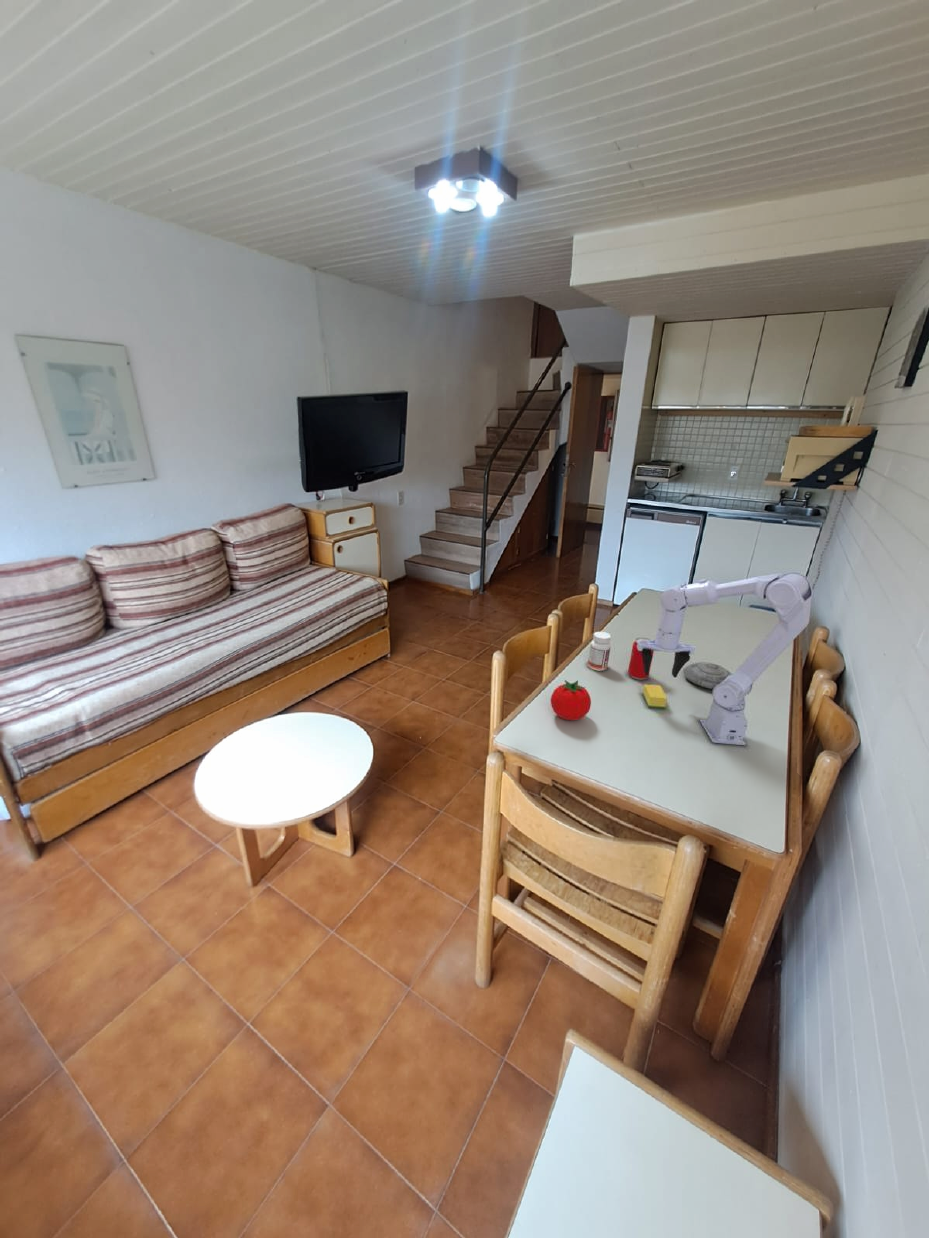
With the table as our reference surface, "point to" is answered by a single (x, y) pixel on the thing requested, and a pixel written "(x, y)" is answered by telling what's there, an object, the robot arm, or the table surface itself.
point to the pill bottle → (599, 651)
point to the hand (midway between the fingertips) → (659, 674)
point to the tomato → (571, 701)
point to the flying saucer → (706, 674)
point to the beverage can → (637, 661)
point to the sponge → (654, 696)
